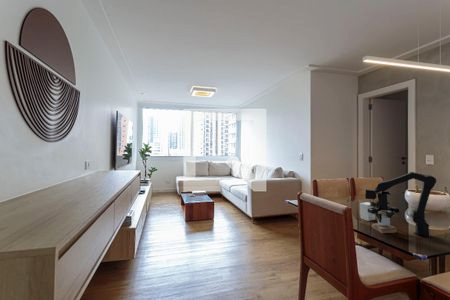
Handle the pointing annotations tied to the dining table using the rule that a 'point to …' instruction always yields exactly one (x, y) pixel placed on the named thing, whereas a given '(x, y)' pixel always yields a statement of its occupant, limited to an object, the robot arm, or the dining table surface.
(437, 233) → the dining table surface
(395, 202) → the dining table surface
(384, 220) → the slate block
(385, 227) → the tan flat block
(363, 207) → the supplement box
